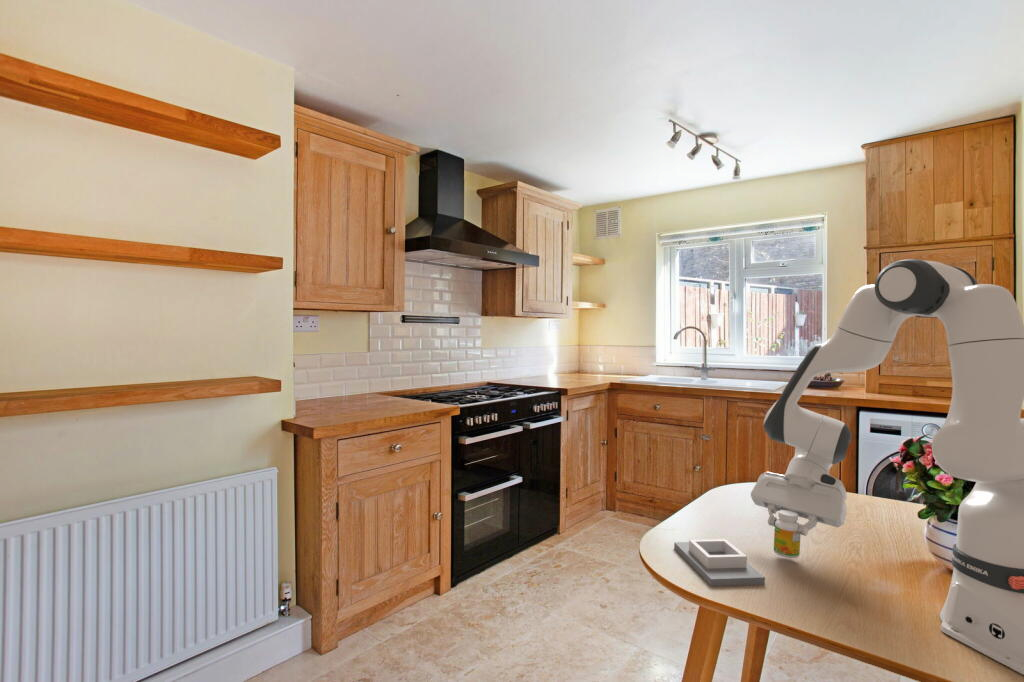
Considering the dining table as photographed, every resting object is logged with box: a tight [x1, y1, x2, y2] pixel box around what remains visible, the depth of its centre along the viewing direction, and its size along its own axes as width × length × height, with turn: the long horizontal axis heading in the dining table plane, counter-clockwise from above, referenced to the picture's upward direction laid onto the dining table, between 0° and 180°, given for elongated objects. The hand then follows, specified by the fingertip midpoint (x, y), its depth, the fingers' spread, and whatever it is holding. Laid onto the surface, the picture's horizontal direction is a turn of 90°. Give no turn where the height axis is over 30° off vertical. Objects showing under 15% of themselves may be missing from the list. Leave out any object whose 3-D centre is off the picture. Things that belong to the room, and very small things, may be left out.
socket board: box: [673, 538, 766, 587], centre depth 120 cm, size 18×12×4 cm, turn 7°
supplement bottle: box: [773, 510, 801, 559], centre depth 124 cm, size 5×5×10 cm
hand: (786, 529), depth 123 cm, fingers closed on supplement bottle, 5 cm apart
